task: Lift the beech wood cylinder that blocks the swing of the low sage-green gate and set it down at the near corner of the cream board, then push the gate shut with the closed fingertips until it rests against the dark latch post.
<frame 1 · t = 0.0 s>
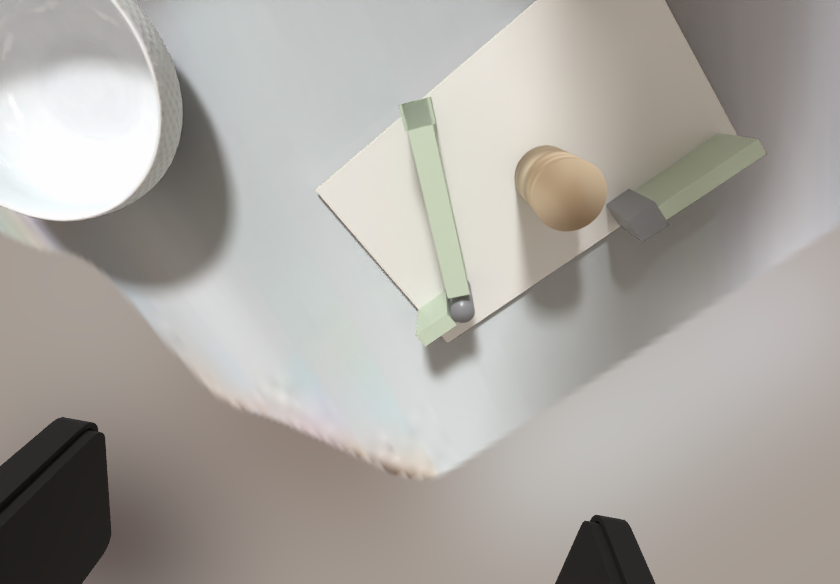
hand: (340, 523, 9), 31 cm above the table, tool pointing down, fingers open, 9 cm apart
gate frame: (520, 166, 37), on the table
gate: (438, 198, 35), point 3 cm above the table, hinge at 65.0°
cereal bowl: (100, 90, 36), on the table
roller: (543, 175, 37), point 1 cm above the table, touching gate frame
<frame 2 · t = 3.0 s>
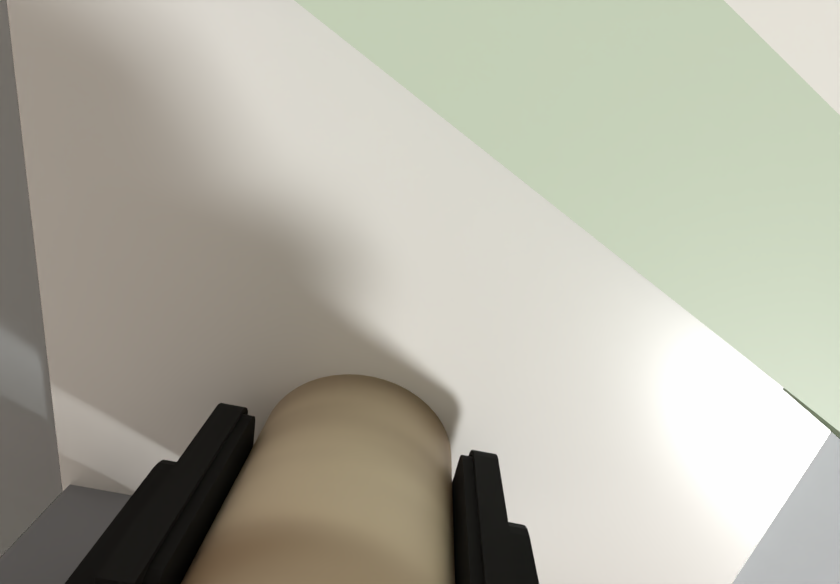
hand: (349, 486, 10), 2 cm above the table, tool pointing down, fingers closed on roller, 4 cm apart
gate frame: (428, 416, 11), on the table
gate: (710, 237, 6), point 3 cm above the table, hinge at 65.0°
roller: (356, 455, 11), point 1 cm above the table, touching gate frame, gripper
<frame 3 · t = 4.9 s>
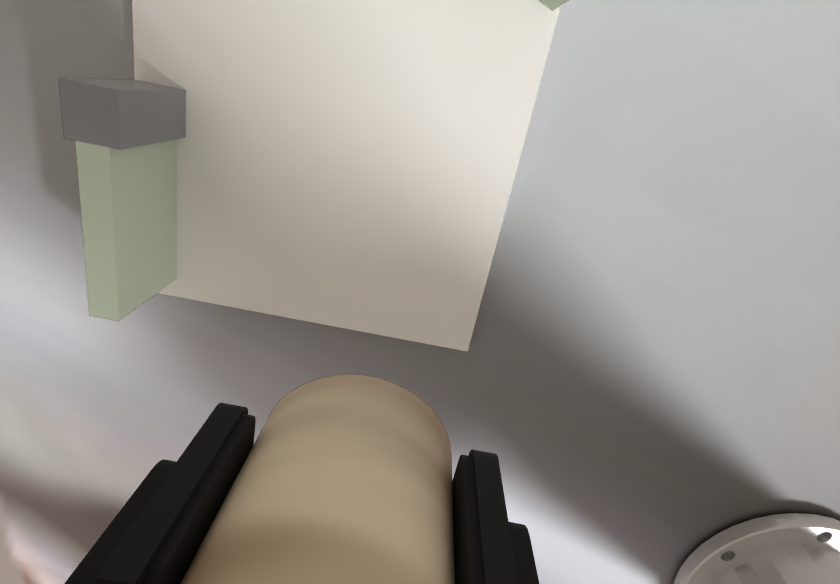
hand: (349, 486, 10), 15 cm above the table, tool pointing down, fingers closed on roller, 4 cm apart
gate frame: (343, 32, 20), on the table
roller: (356, 456, 11), point 14 cm above the table, touching gripper
when the fingers open (3 cm above the table, at t = 7.1 s): roller drops 1 cm, resting on gate frame.
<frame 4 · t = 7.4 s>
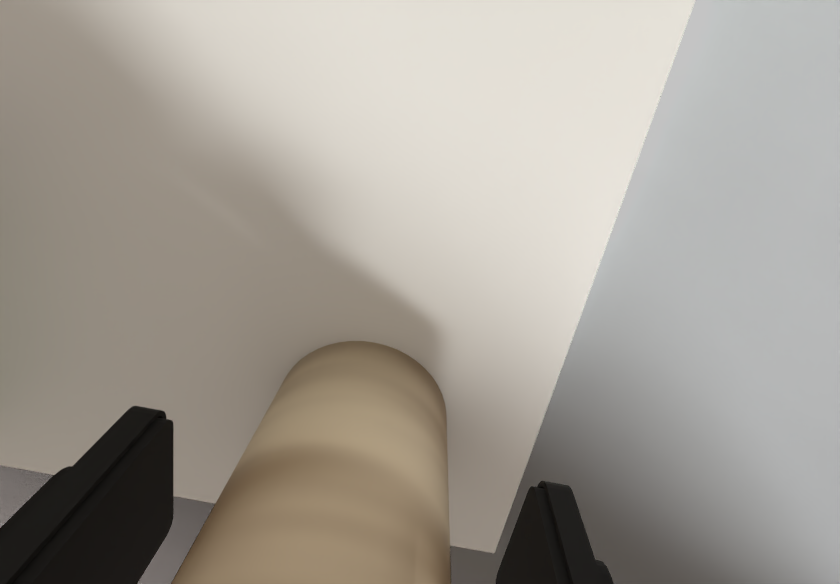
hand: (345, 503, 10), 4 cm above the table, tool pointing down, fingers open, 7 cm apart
roller: (361, 416, 13), point 1 cm above the table, touching gate frame
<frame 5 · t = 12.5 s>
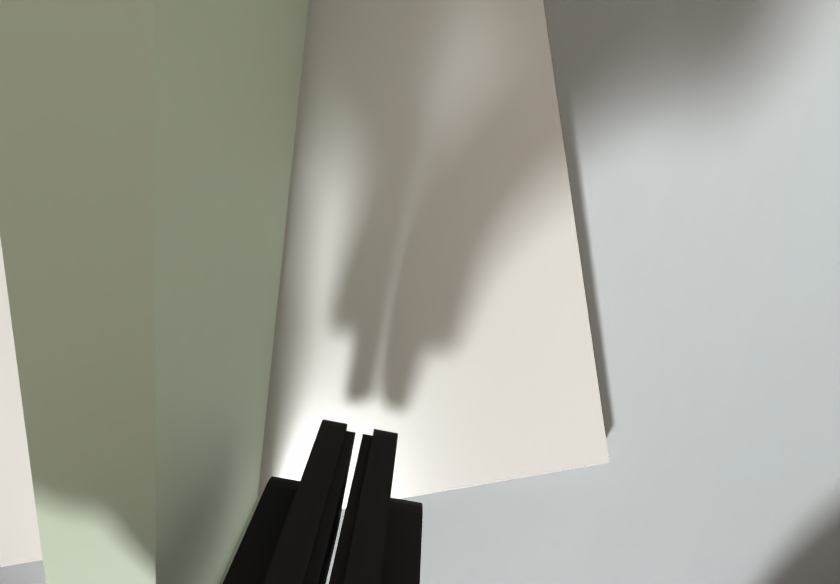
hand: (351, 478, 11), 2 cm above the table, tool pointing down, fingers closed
gate: (186, 383, 9), point 3 cm above the table, hinge at 63.6°, touching gripper
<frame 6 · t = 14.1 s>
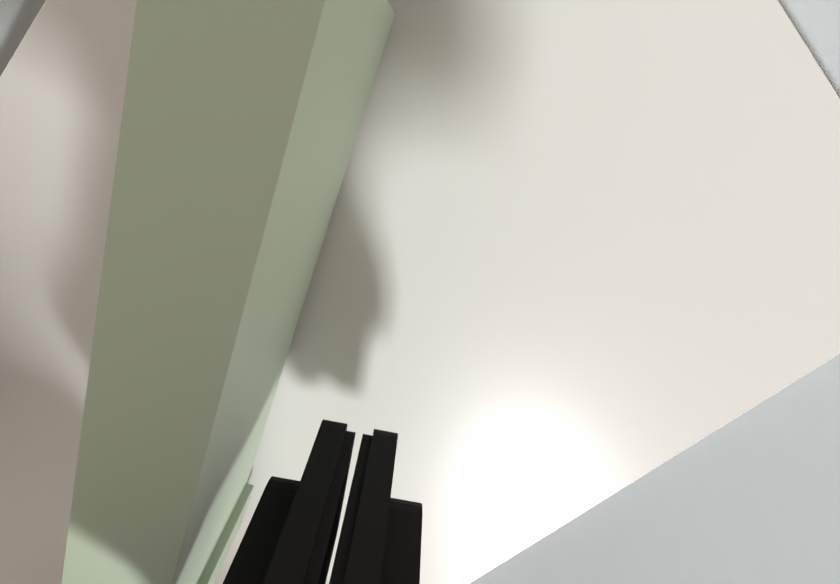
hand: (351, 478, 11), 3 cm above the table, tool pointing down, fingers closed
gate frame: (274, 384, 13), on the table
gate: (217, 371, 9), point 3 cm above the table, hinge at 24.5°, touching gripper
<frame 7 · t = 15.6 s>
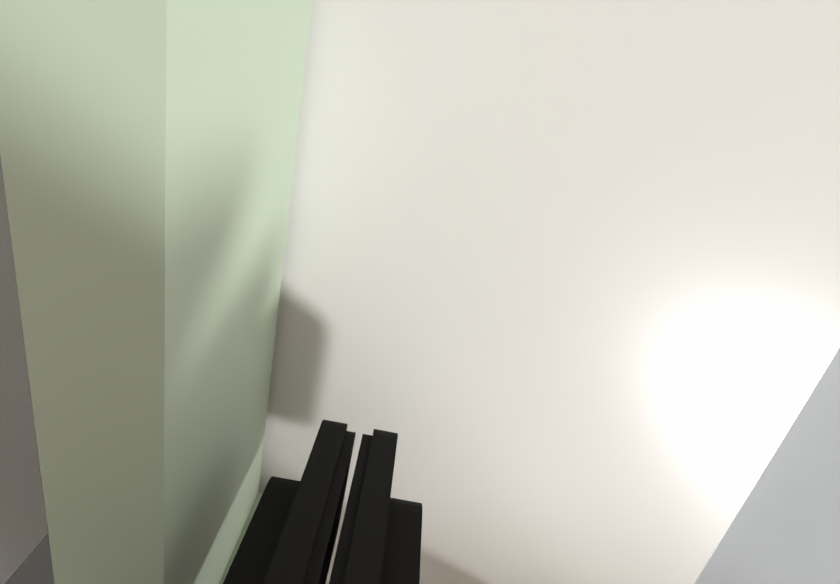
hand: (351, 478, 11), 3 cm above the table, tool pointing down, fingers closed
gate frame: (450, 382, 13), on the table
gate: (190, 381, 9), point 3 cm above the table, hinge at -1.2°, touching gate frame, gripper
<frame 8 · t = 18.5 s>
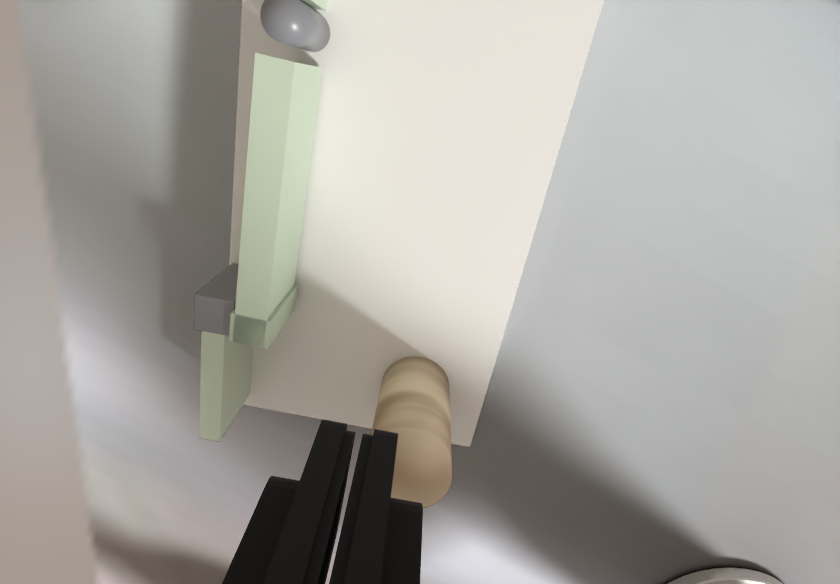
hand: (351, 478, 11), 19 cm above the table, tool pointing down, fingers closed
gate frame: (381, 232, 28), on the table
gate: (277, 206, 24), point 3 cm above the table, hinge at -1.1°
roller: (415, 386, 31), point 1 cm above the table, touching gate frame
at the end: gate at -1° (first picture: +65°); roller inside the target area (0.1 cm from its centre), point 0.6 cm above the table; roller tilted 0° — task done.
